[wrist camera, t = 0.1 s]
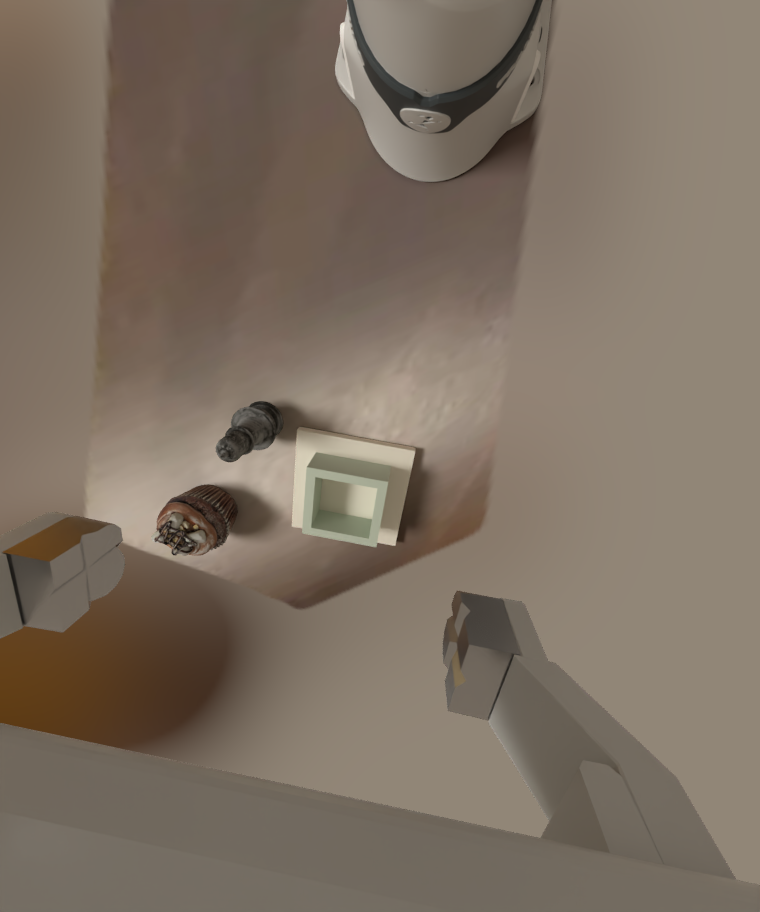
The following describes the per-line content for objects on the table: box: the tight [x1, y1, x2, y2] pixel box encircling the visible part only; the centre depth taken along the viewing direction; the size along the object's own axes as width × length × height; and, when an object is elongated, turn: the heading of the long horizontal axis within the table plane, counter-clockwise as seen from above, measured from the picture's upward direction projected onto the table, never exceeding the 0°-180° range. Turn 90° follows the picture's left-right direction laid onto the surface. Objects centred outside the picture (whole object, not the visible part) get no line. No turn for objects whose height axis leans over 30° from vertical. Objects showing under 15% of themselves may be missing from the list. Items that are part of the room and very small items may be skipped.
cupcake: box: [152, 485, 237, 556], centre depth 52 cm, size 10×10×10 cm
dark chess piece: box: [216, 401, 283, 462], centre depth 44 cm, size 6×6×12 cm
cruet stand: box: [292, 427, 416, 547], centre depth 50 cm, size 16×16×6 cm
